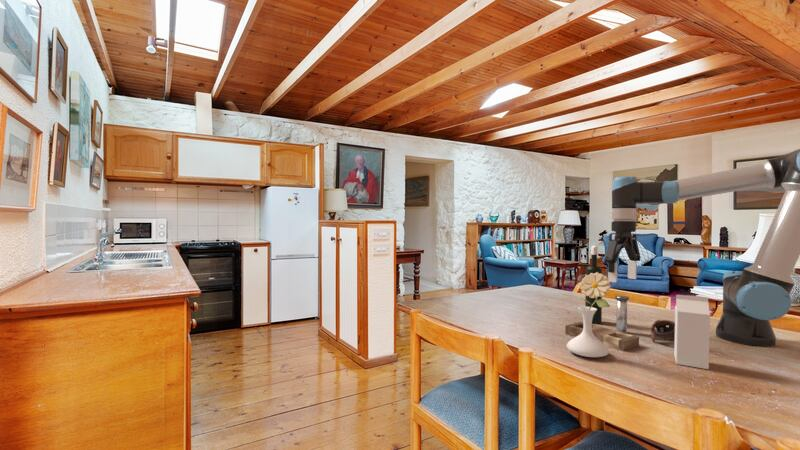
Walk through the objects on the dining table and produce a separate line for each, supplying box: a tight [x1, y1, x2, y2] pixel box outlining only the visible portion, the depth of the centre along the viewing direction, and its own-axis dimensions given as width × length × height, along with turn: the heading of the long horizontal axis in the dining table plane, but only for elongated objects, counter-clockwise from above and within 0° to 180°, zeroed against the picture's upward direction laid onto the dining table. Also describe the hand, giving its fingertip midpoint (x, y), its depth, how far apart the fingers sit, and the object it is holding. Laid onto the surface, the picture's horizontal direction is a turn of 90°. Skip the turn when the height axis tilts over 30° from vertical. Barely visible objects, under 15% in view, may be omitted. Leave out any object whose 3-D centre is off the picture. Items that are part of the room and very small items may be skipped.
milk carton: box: [673, 294, 711, 370], centre depth 107 cm, size 7×7×19 cm
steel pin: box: [614, 294, 630, 334], centre depth 136 cm, size 4×4×13 cm
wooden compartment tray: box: [564, 321, 640, 352], centre depth 128 cm, size 20×9×3 cm, turn 32°
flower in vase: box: [566, 272, 612, 358], centre depth 113 cm, size 13×11×25 cm
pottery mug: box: [650, 319, 675, 343], centre depth 126 cm, size 12×10×8 cm
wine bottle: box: [584, 245, 603, 325], centre depth 149 cm, size 6×6×30 cm
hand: (622, 280), depth 135 cm, fingers open, 13 cm apart
